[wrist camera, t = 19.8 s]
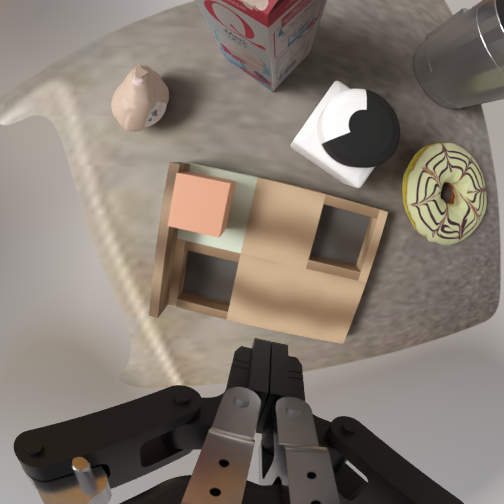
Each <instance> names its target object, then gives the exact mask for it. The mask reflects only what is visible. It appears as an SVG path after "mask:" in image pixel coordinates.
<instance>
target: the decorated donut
mask: <svg viewBox="0 0 504 504" xmlns="http://www.w3.org/2000/svg"><path fill="white" fill-rule="evenodd" d="M444 183H446V184H448V186H449V187H450V190H451V193H452V196H451V200H450V201H449V202H448V203H447V204H446V203H445V201H444V200H442V199H441V196H440V195H441V191H442V186H443V184H444ZM402 197H403V203H404V208H405V211H406V213H407V215H408V217H409V219H410V221H411V223H412V225H413V227H414V229H415V230H416V231H417V232H418V233H419V234H421V235H423V236H424V237H425V238H427V239H428V241H429V242H436V243H438V244H441V245H452V244H455V243H457V242H460V241H462V240H464V239H465V238H467V237H468V236H469V235H471V234H472V232H473V231H474V230H475V229H476V228H477V227H478V225H479V224H480V222H481V220H482V218H483V215H484V214H485V211H486V204H487V198H486V188H485V182H484V177H483V174H482V172H481V170H480V168H479V166H478V164H477V162H476V161H475V160H474V158H473V157H472V156H471V155H470V154H469V153H468V152H467V151H466V150H464V149H463V148H462V147H460V146H457V145H456V144H453V143H434V144H430V145H427V146H425V147H423V148H421V149H420V150H419V151H418V152H417V153H416V154H415V156H414V157H413V158H412V160H411V162H410V163H409V164H408V167H407V170H406V171H405V173H404V175H403V182H402Z"/></svg>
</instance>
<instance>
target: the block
mask: <svg viewBox="0 0 504 504" xmlns="http://www.w3.org/2000/svg"><path fill="white" fill-rule="evenodd" d="M235 184H236V181H233V180H228V179H224V178H219V177H214V176H209V175H204V174H199V173H194V172H179V173H177V174H176V179H175V185H174V190H173V196H172V202H171V208H170V214H169V220H168V226H170V227H175V228H179V229H183V230H188V231H192V232H196V233H201V234H205V235H209V236H214V237H218V238H220V236H221V235H222V234H223V232H224V231H225V230H226V227H227V222H228V218H229V213H230V208H231V203H232V198H233V194H234V189H235Z"/></svg>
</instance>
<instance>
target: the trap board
mask: <svg viewBox="0 0 504 504" xmlns="http://www.w3.org/2000/svg"><path fill="white" fill-rule="evenodd" d="M179 172H194V173H199V174H204V175H209V176H214V177H219V178H224V179H228V180H233V181H236V184H235V189H234V194H233V198H232V203H231V208H230V213H229V218H228V222H227V227H226V230H225V231H224V232H223V234H222V235H221V236H220V238H218V237H214V236H209V235H205V234H201V233H196V232H192V231H188V230H183V229H179V228H175V227H170V226H168V220H169V214H170V208H171V202H172V196H173V190H174V185H175V179H176V174H177V173H179ZM387 214H388V212H387V211H384V210H382V209H380V208H376V207H373V206H370V205H366V204H363V203H359V202H356V201H352V200H349V199H345V198H342V197H338V196H334V195H331V194H327V193H323V192H319V191H315V190H312V189H308V188H304V187H300V186H296V185H292V184H287V183H283V182H279V181H275V180H271V179H266V178H262V177H257V176H253V175H248V174H244V173H239V172H234V171H229V170H225V169H220V168H215V167H209V166H204V165H199V164H194V163H188V162H170V164H169V170H168V175H167V181H166V186H165V192H164V198H163V204H162V211H161V217H160V224H159V231H158V238H157V246H156V254H155V262H154V271H153V280H152V290H151V300H150V312H149V316H153V317H156V318H158V317H159V316H160V314H161V313H162V312H163V310H164V309H165V308H166V306H167V305H168V304H169V305H172V306H176V307H180V308H183V309H187V310H191V311H195V312H199V313H202V314H206V315H210V316H214V317H218V318H222V319H226V320H231V321H235V322H239V323H243V324H248V325H252V326H257V327H261V328H266V329H270V330H275V331H279V332H284V333H289V334H294V335H299V336H304V337H309V338H314V339H320V340H325V341H330V342H336V343H342V344H343V343H344V340H345V338H346V335H347V333H348V330H349V328H350V325H351V323H352V320H353V318H354V315H355V312H356V310H357V307H358V304H359V301H360V299H361V296H362V293H363V290H364V288H365V285H366V282H367V279H368V276H369V273H370V270H371V267H372V264H373V261H374V258H375V255H376V252H377V248H378V245H379V242H380V239H381V235H382V232H383V228H384V225H385V222H386V218H387Z"/></svg>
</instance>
